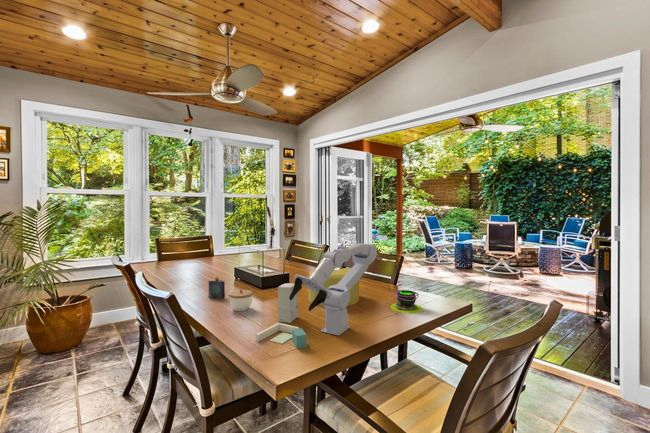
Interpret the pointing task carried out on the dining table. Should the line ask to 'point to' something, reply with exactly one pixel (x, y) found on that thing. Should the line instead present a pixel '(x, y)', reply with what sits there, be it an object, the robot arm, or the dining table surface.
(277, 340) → the pad
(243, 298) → the lidded jar
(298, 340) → the teal brick
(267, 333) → the corner walls
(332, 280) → the cheese
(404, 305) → the toy cauldron
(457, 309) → the dining table surface
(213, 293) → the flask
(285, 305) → the skincare box
